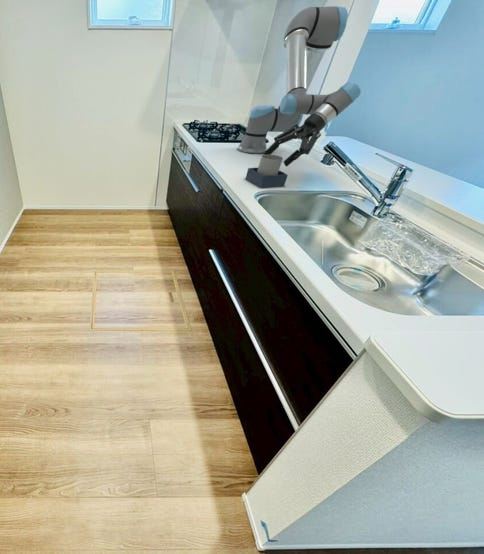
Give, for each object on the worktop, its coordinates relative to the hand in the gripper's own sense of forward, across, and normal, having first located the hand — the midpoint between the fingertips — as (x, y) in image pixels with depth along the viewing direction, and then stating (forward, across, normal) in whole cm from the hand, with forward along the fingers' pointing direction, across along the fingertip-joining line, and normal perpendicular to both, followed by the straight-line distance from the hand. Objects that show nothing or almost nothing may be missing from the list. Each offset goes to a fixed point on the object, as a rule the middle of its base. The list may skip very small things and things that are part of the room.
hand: (274, 159), depth 128 cm
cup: (+8, 0, -5) cm, 9 cm away
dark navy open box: (+8, 0, -6) cm, 10 cm away
